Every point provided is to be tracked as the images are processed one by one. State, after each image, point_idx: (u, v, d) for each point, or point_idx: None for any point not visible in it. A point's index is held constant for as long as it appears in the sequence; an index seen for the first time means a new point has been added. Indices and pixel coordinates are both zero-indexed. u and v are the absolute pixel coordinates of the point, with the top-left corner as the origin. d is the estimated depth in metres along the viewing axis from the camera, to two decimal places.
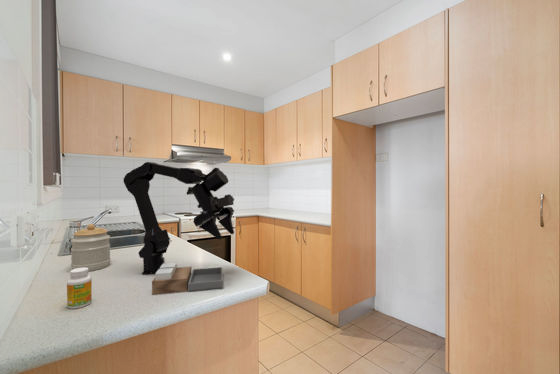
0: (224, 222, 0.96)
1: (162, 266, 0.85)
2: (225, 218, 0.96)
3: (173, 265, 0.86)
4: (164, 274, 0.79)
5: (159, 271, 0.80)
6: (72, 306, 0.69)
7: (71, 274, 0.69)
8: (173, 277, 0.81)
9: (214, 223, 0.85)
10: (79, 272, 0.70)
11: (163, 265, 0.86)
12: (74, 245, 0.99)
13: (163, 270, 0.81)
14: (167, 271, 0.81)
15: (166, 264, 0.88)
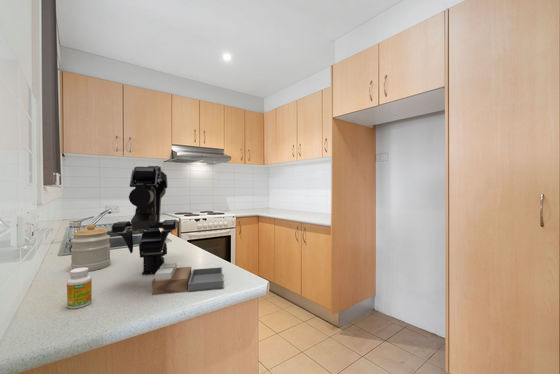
0: None
1: (162, 266, 0.85)
2: None
3: (173, 265, 0.86)
4: (164, 274, 0.79)
5: (159, 271, 0.80)
6: (72, 306, 0.69)
7: (71, 274, 0.69)
8: (173, 277, 0.81)
9: (125, 237, 0.82)
10: (79, 272, 0.70)
11: (163, 265, 0.86)
12: (74, 245, 0.99)
13: (163, 270, 0.81)
14: (167, 271, 0.81)
15: (166, 264, 0.88)
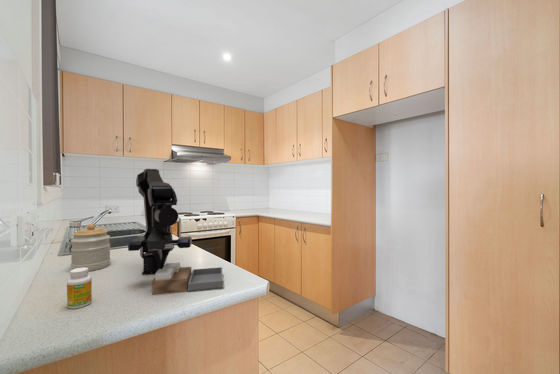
0: None
1: (165, 266, 0.86)
2: None
3: (176, 265, 0.86)
4: (164, 274, 0.79)
5: (159, 271, 0.80)
6: (72, 306, 0.69)
7: (71, 274, 0.69)
8: (173, 277, 0.81)
9: (155, 254, 0.84)
10: (79, 272, 0.70)
11: (166, 265, 0.87)
12: (74, 245, 0.99)
13: (163, 270, 0.81)
14: (167, 271, 0.81)
15: (169, 264, 0.88)
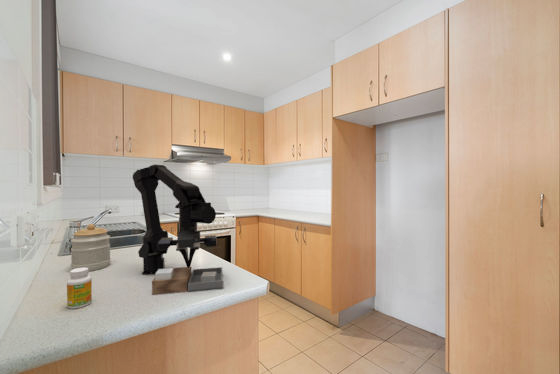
0: None
1: None
2: None
3: None
4: (164, 274, 0.79)
5: (159, 271, 0.80)
6: (72, 306, 0.69)
7: (71, 274, 0.69)
8: (173, 277, 0.81)
9: (183, 253, 0.86)
10: (79, 272, 0.70)
11: None
12: (74, 245, 0.99)
13: (163, 270, 0.81)
14: (167, 271, 0.81)
15: None
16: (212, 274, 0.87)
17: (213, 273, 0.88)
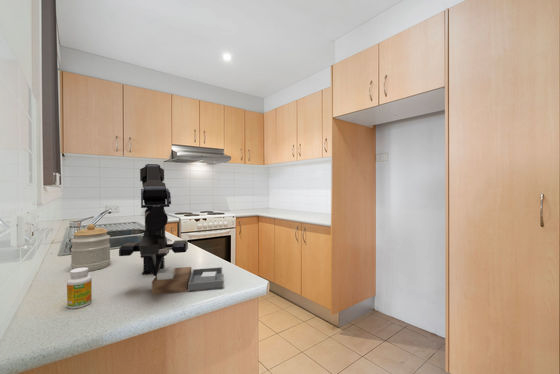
0: None
1: None
2: None
3: None
4: (166, 274, 0.79)
5: (161, 271, 0.80)
6: (72, 306, 0.69)
7: (71, 274, 0.69)
8: None
9: (149, 260, 0.78)
10: (79, 272, 0.70)
11: None
12: (74, 245, 0.99)
13: (165, 270, 0.81)
14: (168, 270, 0.81)
15: None
16: (212, 274, 0.87)
17: (213, 273, 0.88)
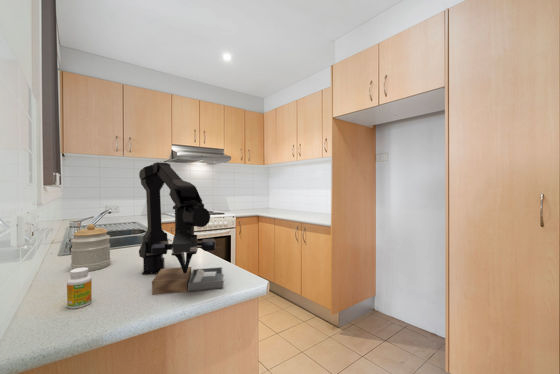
0: None
1: None
2: None
3: None
4: None
5: None
6: (72, 306, 0.69)
7: (71, 274, 0.69)
8: (173, 277, 0.81)
9: (179, 258, 0.80)
10: (79, 272, 0.70)
11: None
12: (74, 245, 0.99)
13: None
14: None
15: None
16: (212, 274, 0.87)
17: (213, 273, 0.88)
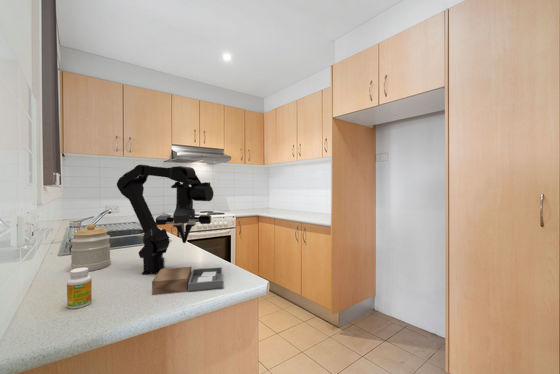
0: None
1: None
2: None
3: None
4: None
5: None
6: (72, 306, 0.69)
7: (71, 274, 0.69)
8: (173, 277, 0.81)
9: (179, 229, 0.93)
10: (79, 272, 0.70)
11: None
12: (74, 245, 0.99)
13: None
14: None
15: None
16: (212, 274, 0.87)
17: (213, 273, 0.88)
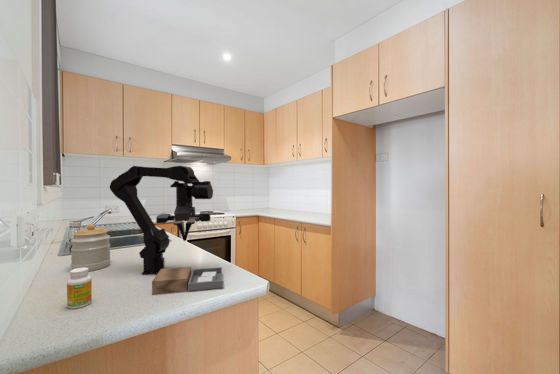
0: None
1: None
2: None
3: None
4: None
5: None
6: (72, 306, 0.69)
7: (71, 274, 0.69)
8: (173, 277, 0.81)
9: (180, 227, 0.95)
10: (79, 272, 0.70)
11: None
12: (74, 245, 0.99)
13: None
14: None
15: None
16: (212, 274, 0.87)
17: (213, 273, 0.88)
